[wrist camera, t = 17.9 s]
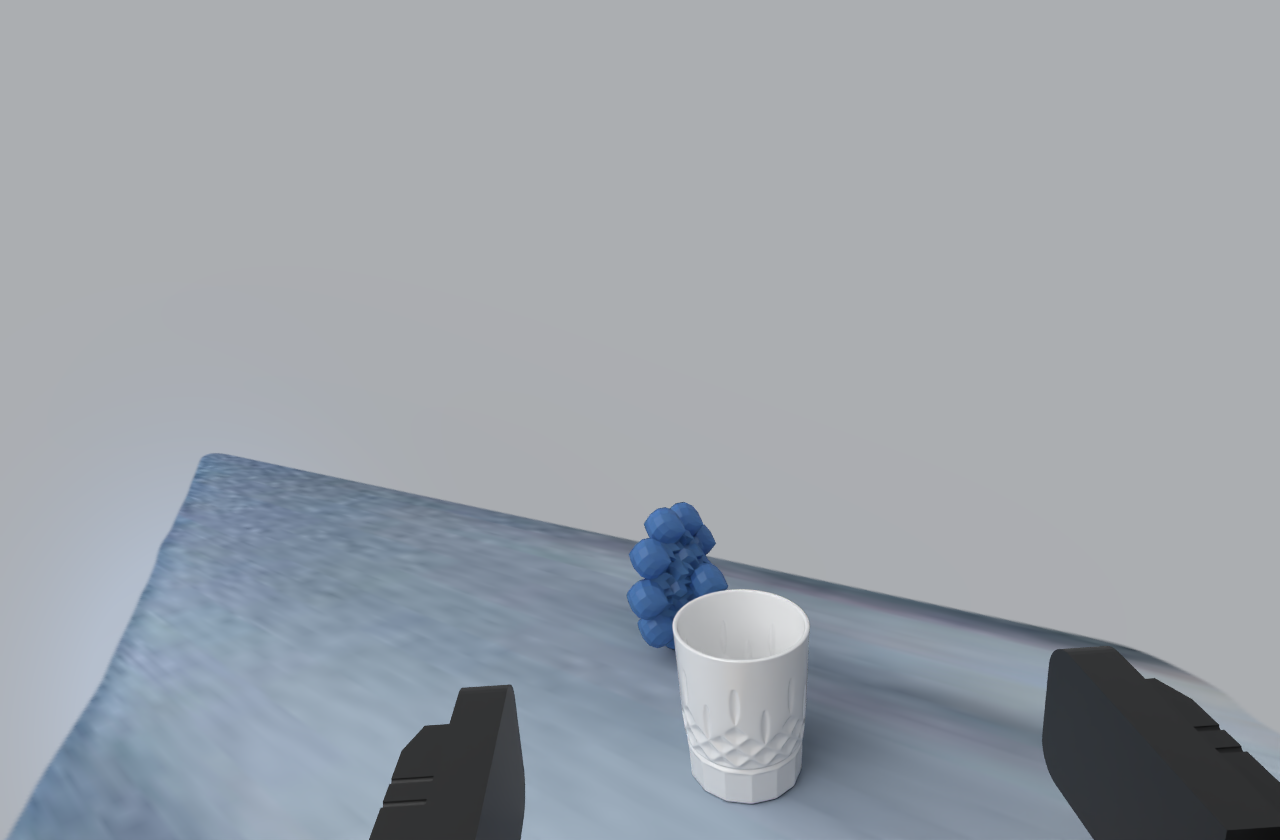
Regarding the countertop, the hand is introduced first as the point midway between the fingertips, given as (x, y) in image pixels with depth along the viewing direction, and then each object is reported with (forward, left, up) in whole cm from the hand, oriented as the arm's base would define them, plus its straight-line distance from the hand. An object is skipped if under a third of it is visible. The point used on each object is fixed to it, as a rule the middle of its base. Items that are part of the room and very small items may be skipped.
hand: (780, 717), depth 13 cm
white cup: (+24, -22, -28) cm, 43 cm away
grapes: (+36, -28, -28) cm, 54 cm away
